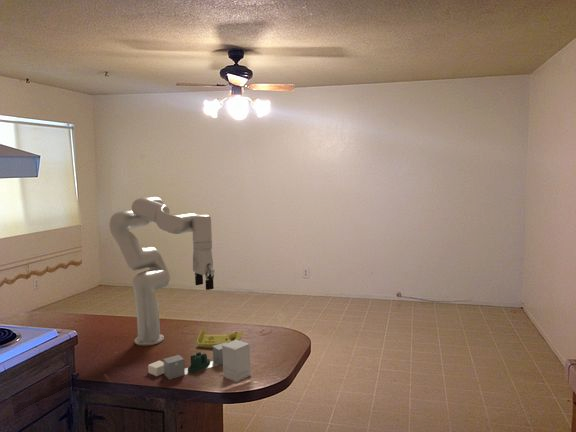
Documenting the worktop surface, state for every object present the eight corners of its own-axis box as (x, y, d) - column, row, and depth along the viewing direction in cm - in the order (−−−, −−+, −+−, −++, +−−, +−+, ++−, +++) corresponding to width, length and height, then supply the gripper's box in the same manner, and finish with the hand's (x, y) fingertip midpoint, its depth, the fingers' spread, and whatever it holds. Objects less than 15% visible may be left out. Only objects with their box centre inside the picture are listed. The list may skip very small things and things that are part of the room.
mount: (204, 361, 186) (203, 348, 186) (213, 363, 184) (212, 350, 183) (184, 371, 177) (184, 358, 176) (193, 374, 175) (192, 361, 174)
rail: (164, 376, 175) (164, 374, 175) (226, 358, 190) (226, 356, 190) (169, 381, 171) (169, 379, 171) (232, 362, 186) (232, 360, 186)
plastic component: (194, 344, 200) (202, 327, 208) (199, 356, 204) (207, 339, 212) (238, 343, 195) (244, 326, 204) (243, 356, 199) (248, 338, 207)
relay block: (148, 375, 177) (148, 364, 176) (159, 370, 181) (159, 360, 180) (156, 378, 174) (156, 368, 173) (167, 373, 178) (167, 363, 177)
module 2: (213, 360, 186) (212, 345, 186) (226, 356, 190) (226, 342, 189) (219, 364, 182) (218, 349, 181) (232, 360, 185) (232, 346, 185)
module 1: (164, 374, 175) (163, 358, 174) (179, 370, 178) (178, 354, 178) (169, 379, 171) (168, 363, 170) (184, 374, 174) (184, 359, 173)
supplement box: (251, 376, 173) (250, 343, 172) (236, 384, 167) (235, 349, 166) (237, 371, 178) (236, 339, 176) (222, 378, 172) (221, 344, 171)
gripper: (185, 243, 195) (187, 284, 197) (203, 249, 181) (205, 293, 183) (202, 241, 199) (203, 281, 201) (220, 247, 185) (222, 289, 187)
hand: (204, 287), depth 192 cm, fingers open, 9 cm apart
